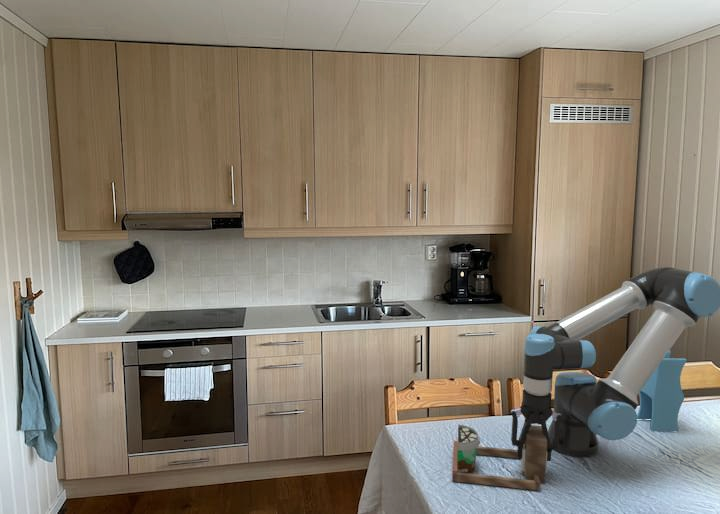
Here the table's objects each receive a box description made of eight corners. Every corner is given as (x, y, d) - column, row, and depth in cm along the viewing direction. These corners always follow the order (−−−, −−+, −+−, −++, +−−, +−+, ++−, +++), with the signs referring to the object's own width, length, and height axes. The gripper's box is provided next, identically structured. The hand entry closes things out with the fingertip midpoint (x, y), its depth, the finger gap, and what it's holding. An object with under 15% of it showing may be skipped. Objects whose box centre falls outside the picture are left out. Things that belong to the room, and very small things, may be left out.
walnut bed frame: (537, 458, 152) (539, 419, 150) (547, 491, 135) (549, 448, 134) (453, 450, 157) (454, 412, 155) (452, 480, 140) (453, 439, 138)
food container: (479, 479, 141) (481, 445, 140) (457, 477, 142) (458, 443, 141) (478, 457, 153) (479, 425, 152) (457, 455, 154) (458, 423, 153)
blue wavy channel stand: (680, 432, 170) (687, 359, 167) (651, 431, 170) (656, 359, 167) (663, 419, 180) (669, 350, 177) (635, 418, 180) (640, 350, 177)
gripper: (569, 388, 143) (564, 466, 146) (502, 383, 146) (499, 459, 149) (574, 398, 136) (570, 480, 138) (504, 393, 139) (501, 473, 142)
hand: (533, 469), depth 144 cm, fingers closed on walnut bed frame, 5 cm apart
